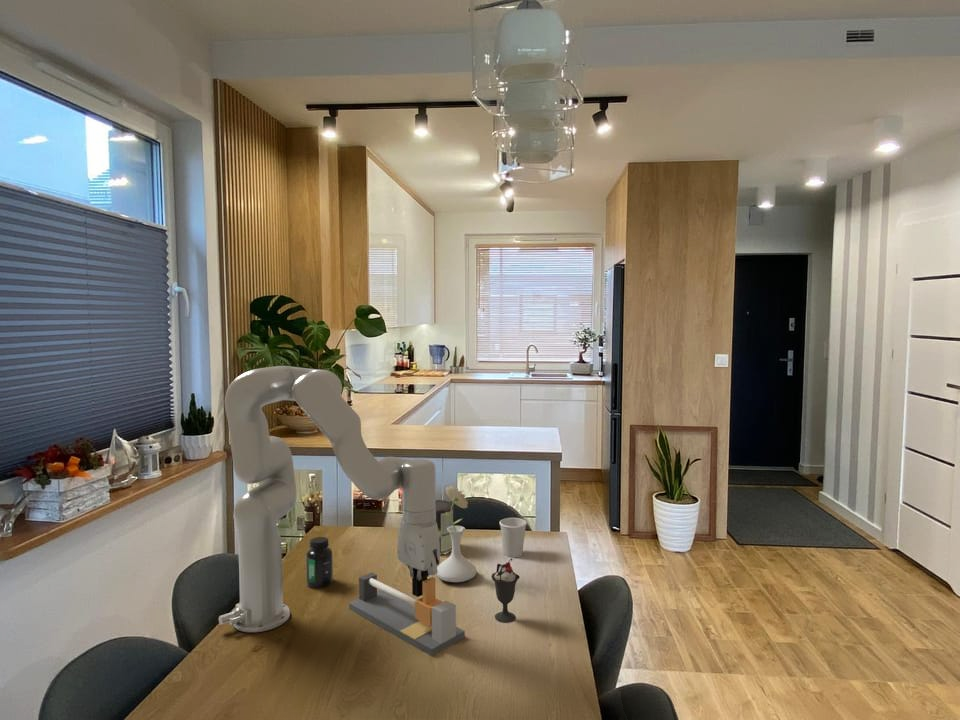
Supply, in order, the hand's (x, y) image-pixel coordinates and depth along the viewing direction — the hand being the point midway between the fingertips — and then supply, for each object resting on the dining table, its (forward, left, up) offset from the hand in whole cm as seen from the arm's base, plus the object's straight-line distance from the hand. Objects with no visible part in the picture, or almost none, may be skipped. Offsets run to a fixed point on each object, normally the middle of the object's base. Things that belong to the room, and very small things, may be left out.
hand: (419, 593), depth 132 cm
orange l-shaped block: (0, -3, -5) cm, 6 cm away
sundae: (+18, -10, -9) cm, 23 cm away
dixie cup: (+49, +13, -9) cm, 51 cm away
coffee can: (+36, +33, -9) cm, 49 cm away
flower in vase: (+26, +15, -9) cm, 31 cm away
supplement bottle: (-2, +39, -9) cm, 40 cm away
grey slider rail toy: (0, +6, -9) cm, 10 cm away
